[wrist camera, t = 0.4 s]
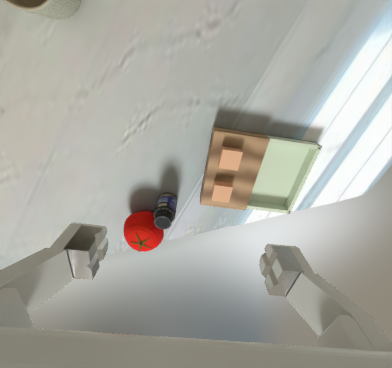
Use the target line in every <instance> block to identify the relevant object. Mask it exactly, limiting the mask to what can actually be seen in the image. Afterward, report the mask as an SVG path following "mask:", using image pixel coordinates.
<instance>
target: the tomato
mask: <svg viewBox="0 0 392 368" xmlns="http://www.w3.org/2000/svg"><path fill="white" fill-rule="evenodd" d="M154 220H155V218H154V213H153V212H150V211H141V212H137V213H134V214H132V215H130V216H129V217H128V218H127V219H126V221H125V224H124V236H125V239H126V241H127V243H128V244H129V245H130V246H131V247H132V248H133V249H135V250H137V251H149V250H152V249H154V248H155V247H157V246H158V245H159V244H160V243H161V241H162V239H163V234H164V231H163V229H159V228H158V227H156V226H155V224H154Z"/></svg>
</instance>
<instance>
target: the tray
mask: <svg viewBox="0 0 392 368" xmlns="http://www.w3.org/2000/svg"><path fill="white" fill-rule="evenodd" d="M266 137H268V138H269V139H270V140H269V143H268V146H267V149H266V152H265V155H264V158H263V161H262V164H261V167H260V170H259V173H258V175H257V178H256V181H255V184H254V187H253V190H252V193H251V196H250V199H249V202H248V205H247V208H248V209H256V210H265V211H273V212H281V213H290V212H291V210H292V208H293V206H294V204H295V202H296V199H297V197H298V195H299V193H300V191H301V189H302V187H303V185H304V183H305V181H306V179H307V177H308V175H309V173H310V170H311V168H312V166H313V164H314V162H315V160H316V158H317V156H318V154H319V152H320V150H321V148H322V146H321V145H319V144H317V143H315V142H309V141H302V140H296V139H289V138H283V137H276V136H270V135H266Z"/></svg>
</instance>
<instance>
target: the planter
mask: <svg viewBox="0 0 392 368" xmlns="http://www.w3.org/2000/svg"><path fill="white" fill-rule="evenodd" d="M4 1H5V2H7V3H8V4H10V5H12V6H14V7H16V8H18V9H21V10H23V11H26V12H29V13H32V14H36V15H39V16H43V17H47V18H52V19H67V18H69V17H71V16H73V15H74V14H75V13H76V12H77V10H78V9H79V7H80V4H81V0H4Z"/></svg>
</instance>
